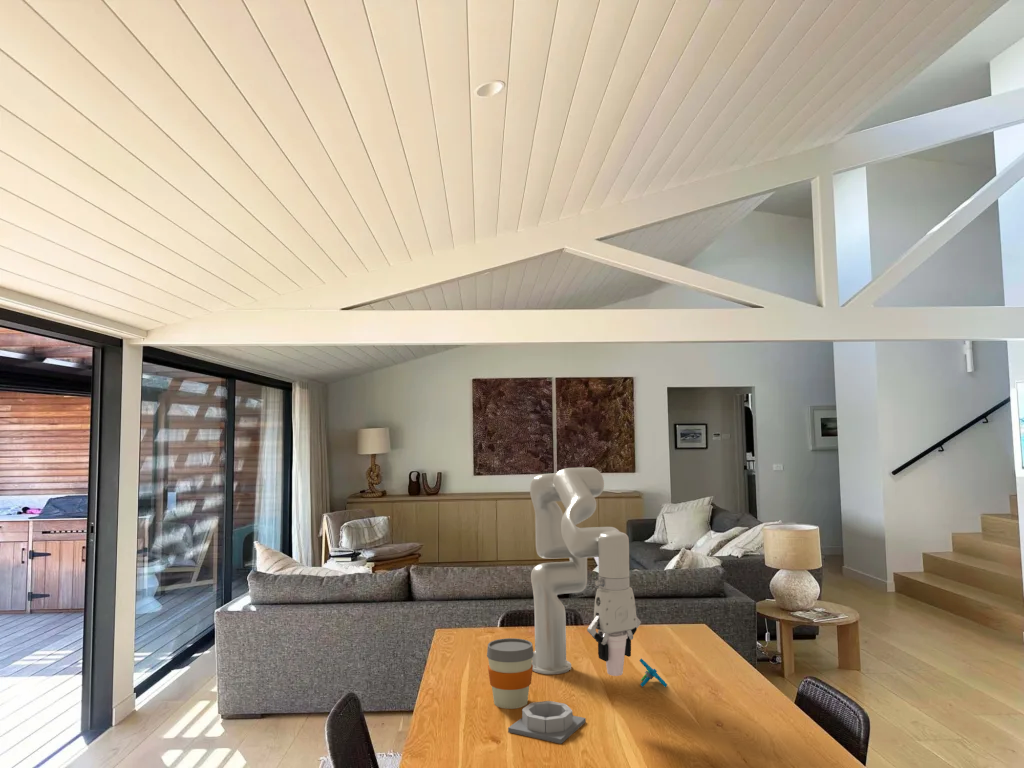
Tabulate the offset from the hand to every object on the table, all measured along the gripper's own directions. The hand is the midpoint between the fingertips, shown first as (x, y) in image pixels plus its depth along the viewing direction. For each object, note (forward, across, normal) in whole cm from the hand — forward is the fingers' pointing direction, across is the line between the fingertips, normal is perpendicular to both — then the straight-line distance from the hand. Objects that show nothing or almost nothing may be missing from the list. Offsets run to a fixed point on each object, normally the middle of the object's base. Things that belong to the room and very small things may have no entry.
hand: (614, 656), depth 172 cm
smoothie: (+4, 0, 0) cm, 4 cm away
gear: (+17, +26, +17) cm, 35 cm away
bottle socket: (+16, -15, +7) cm, 23 cm away
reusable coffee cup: (+17, -15, +26) cm, 35 cm away
